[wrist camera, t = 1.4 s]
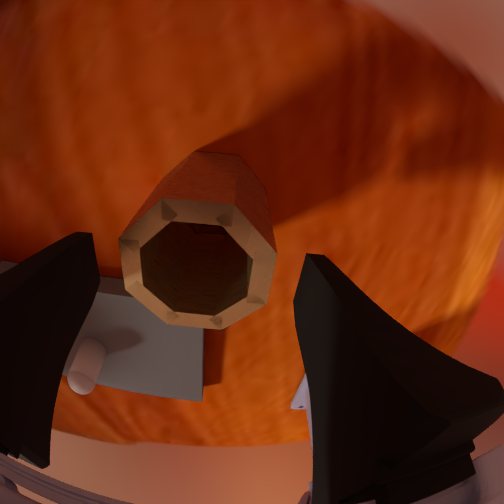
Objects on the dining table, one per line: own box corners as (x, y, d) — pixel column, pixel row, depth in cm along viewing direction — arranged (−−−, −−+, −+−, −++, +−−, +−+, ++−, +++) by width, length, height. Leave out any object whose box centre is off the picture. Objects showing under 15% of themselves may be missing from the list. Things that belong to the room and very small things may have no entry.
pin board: (206, 288, 17) (195, 363, 13) (203, 387, 23) (198, 444, 18) (2, 260, 16) (-38, 307, 11) (43, 355, 22) (22, 399, 17)
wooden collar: (269, 158, 13) (286, 210, 8) (255, 249, 16) (260, 332, 11) (163, 149, 13) (114, 195, 8) (163, 240, 16) (130, 318, 10)
